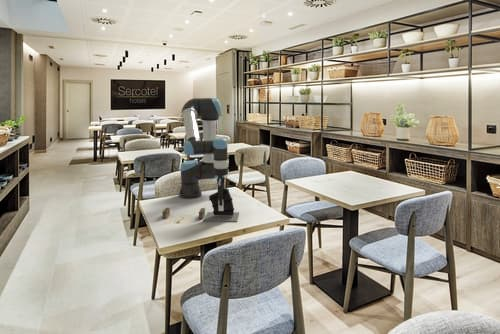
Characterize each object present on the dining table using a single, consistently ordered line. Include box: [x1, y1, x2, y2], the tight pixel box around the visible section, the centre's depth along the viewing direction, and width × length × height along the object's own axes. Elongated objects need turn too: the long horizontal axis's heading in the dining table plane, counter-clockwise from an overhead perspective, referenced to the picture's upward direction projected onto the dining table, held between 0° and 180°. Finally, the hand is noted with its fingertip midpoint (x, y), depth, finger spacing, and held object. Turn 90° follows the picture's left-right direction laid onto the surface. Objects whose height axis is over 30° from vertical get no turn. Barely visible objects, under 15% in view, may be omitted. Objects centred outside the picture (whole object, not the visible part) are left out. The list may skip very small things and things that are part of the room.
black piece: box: [208, 187, 235, 216], centre depth 190 cm, size 4×13×15 cm, turn 87°
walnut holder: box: [161, 207, 206, 220], centre depth 192 cm, size 22×7×4 cm, turn 87°
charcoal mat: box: [202, 211, 240, 223], centre depth 191 cm, size 14×18×1 cm
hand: (221, 209), depth 191 cm, fingers open, 4 cm apart
